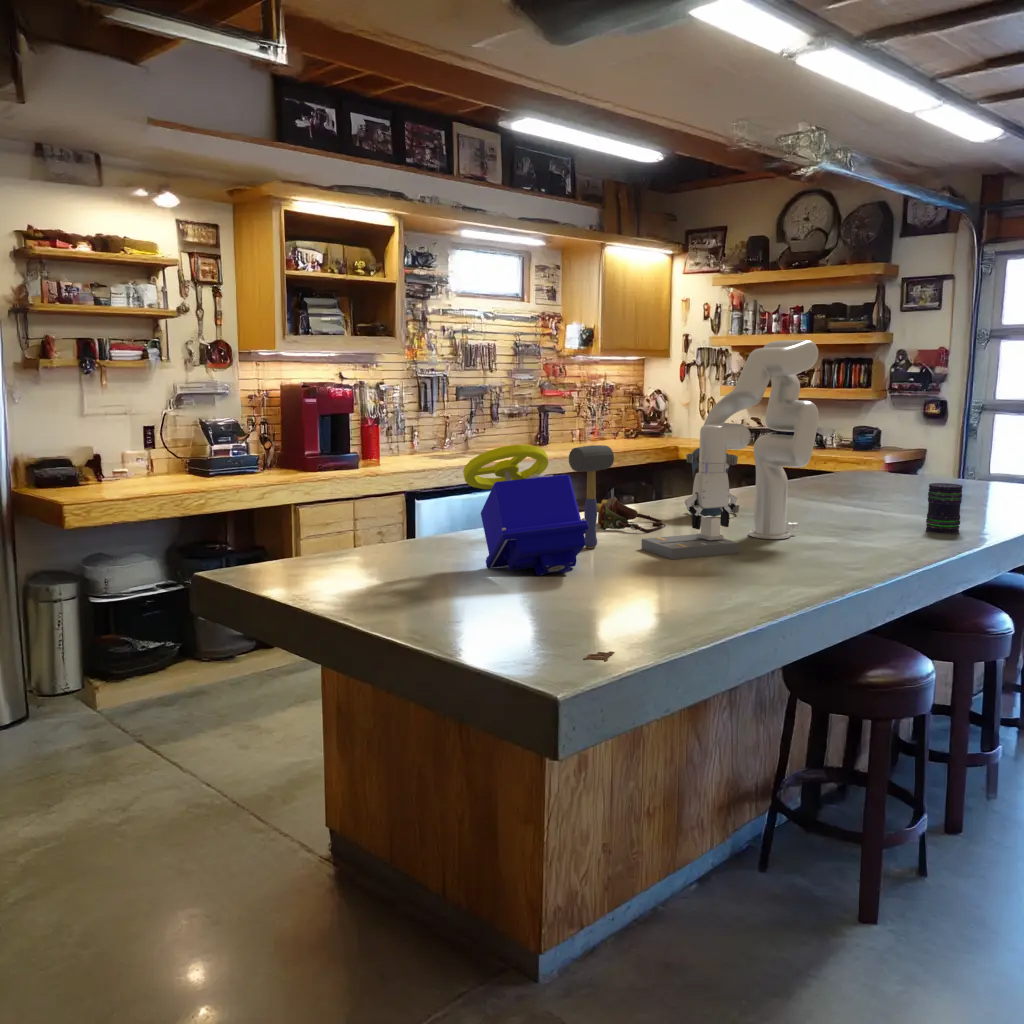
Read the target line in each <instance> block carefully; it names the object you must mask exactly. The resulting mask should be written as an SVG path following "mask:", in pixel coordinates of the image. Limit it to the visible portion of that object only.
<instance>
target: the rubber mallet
mask: <svg viewBox="0 0 1024 1024" xmlns="http://www.w3.org/2000/svg"><path fill="white" fill-rule="evenodd" d="M614 461H615V454H614V451H613V449H612V448H611V447H610V446H608V445H605V444H604V445H603V444H602V445H600V444H599V445H598V444H596V445H593V444H592V445H585V446H584V445H583V446H578V447H574V448H572V449H571V450H570V451H569V454H568V463H569V466H570V468H571V469H572V470H573V471H575V472H584V473H585V472H586V498H585V503H584V514H583V515H584V517H583V518H585V520H586V521H587V523H588V526H589V529H588V530H587V531H586V533H585V534H584V538H585V543H586V544H585V546H584V547H585V548H586V549H590V550H591V549H595V548H596V546H597V545H598V539H597V522H598V512H597V498H596V495H597V493H596V492H597V491H596V488H597V487H596V484H597V483H596V482H597V481H596V478H597V477H596V475H597V474H596V471H598V472H599V471H601V470H602V471H603V470H608V469H609V468H611V467H612V466H613V464H614Z"/></svg>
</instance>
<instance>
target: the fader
mask: <svg viewBox="0 0 1024 1024" xmlns="http://www.w3.org/2000/svg"><path fill="white" fill-rule="evenodd" d="M700 516H701V524H700V533H699V532H697V533H696V534H697V537H699V538H703V539H706V540H719V539H725V538H724V534H721V525H720V520H721V517H718V516H714V517H713V516H703V515H700Z"/></svg>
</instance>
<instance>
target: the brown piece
mask: <svg viewBox="0 0 1024 1024" xmlns="http://www.w3.org/2000/svg"><path fill="white" fill-rule="evenodd" d="M614 654H616V652H615V651H608V652H604V651H597V653H591V654H587V656H586V657H583V658H582V661H586V660H587V661H589V660H591V661H593V660H594V661H604V662H608V660H609V658H610V657H612V656H613V655H614Z"/></svg>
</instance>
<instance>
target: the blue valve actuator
mask: <svg viewBox="0 0 1024 1024" xmlns="http://www.w3.org/2000/svg"><path fill="white" fill-rule="evenodd" d="M509 458H510V459H509ZM526 458H531V459H533V460H535V462H534V463H533V464H532V465H531V466H530V467H529V468H526V469H524V470H522V471H519V470H520V469H519V468H520V467H519V464H520V463H521V462H522V461H524V460H525V459H526ZM496 461H498V462H497V463H495V464H494V465H492V466H486V465H489V464H491V463H493V462H496ZM548 465H549V458H548V455H547V453H546V450H544V449H543V448H541V447H540V446H536V445H530V444H514V445H513V444H512V445H505V446H504V445H503V446H500V447H496V448H493V449H491V450H487V451H485V452H482V453H480V454H479V455H476V456H475V457H473V458H471V459H470V460H469V462H468V463H467V464H466V465H465V466H464V468H463V472H462V473H463V478H464V482H465V483H466V484H467V485H468V486H470V487H472V488H477V489H482V490H490V492H489V494H488V496H487V498H486V501H485V503H484V505H483V507H482V509H481V511H480V516H481V523H482V527H483V531H484V532H483V533H484V537H485V541H486V542H485V543H486V546H487V550H488V556H486V559H485V565H486V568H487V569H495V568H504V567H508V570H510V571H517V570H524V569H525V570H526V569H532V568H534V571H535V575H536V577H541V576H544V575H547V574H551V573H552V574H553V573H557V572H558V573H562V574H563V573H568V572H569V571H570V572H571V569H570V568H572V567H576V566H577V565H576V564H577V556H578V555H580V554H579V553H580V552H581V551H582V550H583V549H584V548H585V547H586V546H585V544H586V543H585V533H586V531H587V530H588V529H589V526H588V523H587V521H586V520H585V517H583V518H582V517H581V514H580V511H579V506H578V503H577V498H576V495H575V490H574V487H573V483H572V479H571V476H570V474H561V475H560V474H559V475H554V474H547V475H544V474H543V473H544V472H545V470H546V469H547V467H548ZM484 466H486V467H484ZM489 474H494V475H495V476H496V477H495V478H494V477H482V476H483V475H489Z"/></svg>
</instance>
